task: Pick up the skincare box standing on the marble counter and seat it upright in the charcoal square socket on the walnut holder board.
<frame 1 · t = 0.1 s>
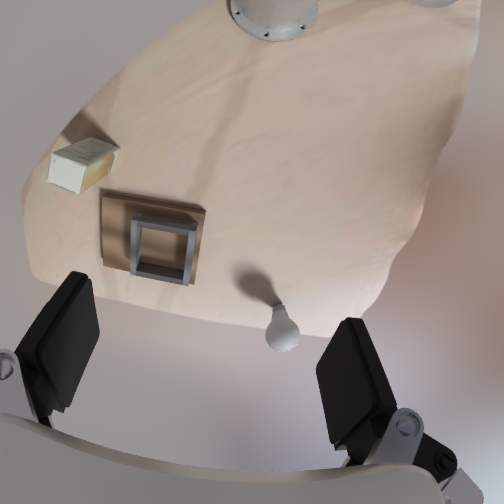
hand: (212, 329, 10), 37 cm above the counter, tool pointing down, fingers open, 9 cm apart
skincare box: (103, 153, 41), on the counter
lightbulb: (278, 305, 57), on the counter
holder board: (150, 238, 49), on the counter
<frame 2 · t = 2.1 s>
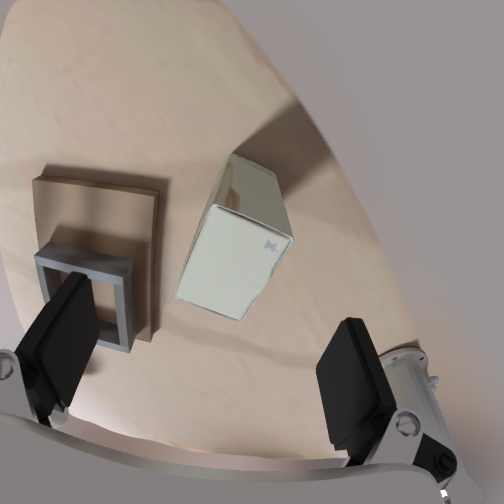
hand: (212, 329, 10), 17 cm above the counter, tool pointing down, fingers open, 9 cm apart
skincare box: (237, 193, 25), on the counter
lightbulb: (67, 374, 40), on the counter
holder board: (95, 261, 28), on the counter
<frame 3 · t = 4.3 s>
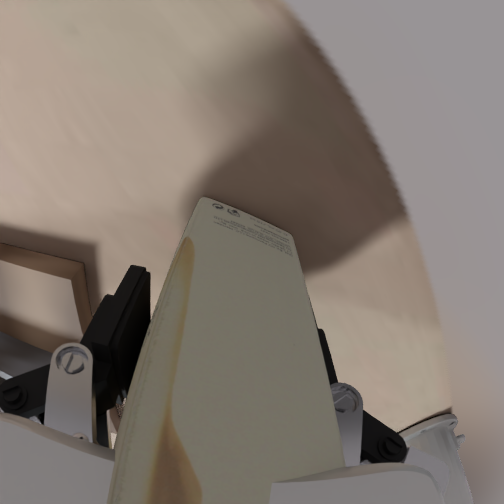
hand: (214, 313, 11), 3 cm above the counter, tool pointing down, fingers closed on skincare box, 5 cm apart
skincare box: (219, 269, 13), on the counter, touching gripper
holder board: (28, 342, 16), on the counter
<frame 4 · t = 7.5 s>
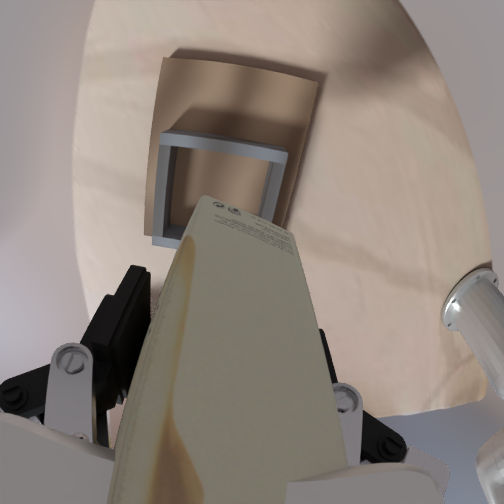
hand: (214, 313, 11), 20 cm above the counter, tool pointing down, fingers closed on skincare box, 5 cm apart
skincare box: (220, 267, 13), point 16 cm above the counter, touching gripper
holder board: (223, 156, 27), on the counter
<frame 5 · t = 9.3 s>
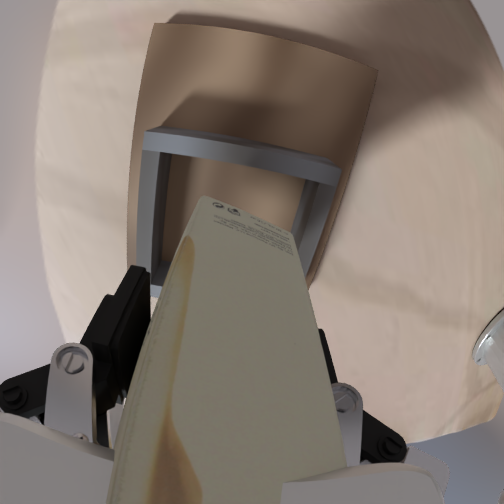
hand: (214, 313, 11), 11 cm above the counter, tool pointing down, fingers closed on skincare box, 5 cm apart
skincare box: (219, 268, 13), point 8 cm above the counter, touching gripper
lightbulb: (119, 373, 30), on the counter
holder board: (238, 168, 19), on the counter
when the fingers open (6 cm above the counter, at t = 11.0 s): skincare box drops 2 cm, resting on holder board.
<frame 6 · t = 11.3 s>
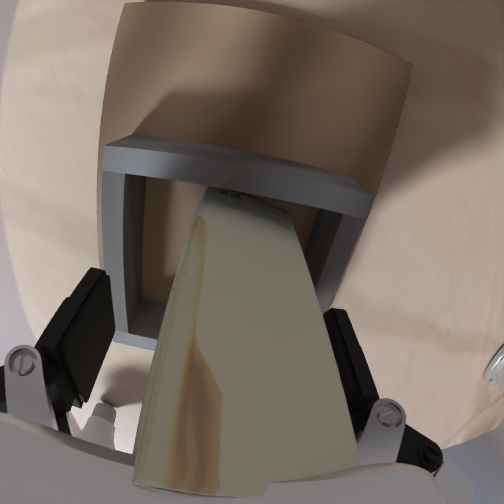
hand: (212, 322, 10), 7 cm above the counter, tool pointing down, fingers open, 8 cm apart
skincare box: (227, 249, 15), point 1 cm above the counter, touching holder board
lightbulb: (108, 402, 26), on the counter
holder board: (233, 186, 15), on the counter
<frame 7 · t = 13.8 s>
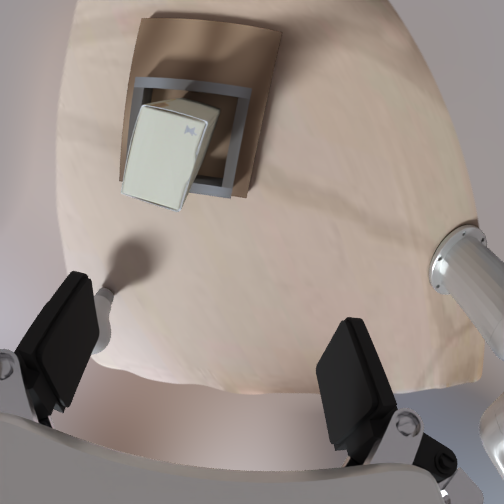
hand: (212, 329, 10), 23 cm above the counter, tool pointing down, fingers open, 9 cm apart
skincare box: (191, 132, 27), point 1 cm above the counter, touching holder board
lightbulb: (108, 290, 38), on the counter
holder board: (194, 103, 26), on the counter
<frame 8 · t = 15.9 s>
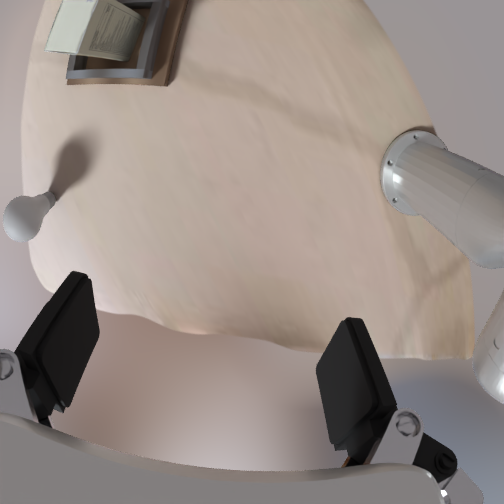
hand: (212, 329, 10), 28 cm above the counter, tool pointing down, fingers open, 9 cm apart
skincare box: (123, 38, 25), point 1 cm above the counter, touching holder board
lightbulb: (52, 197, 36), on the counter
holder board: (130, 20, 24), on the counter
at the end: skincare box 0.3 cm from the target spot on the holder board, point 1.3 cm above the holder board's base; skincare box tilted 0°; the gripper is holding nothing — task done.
